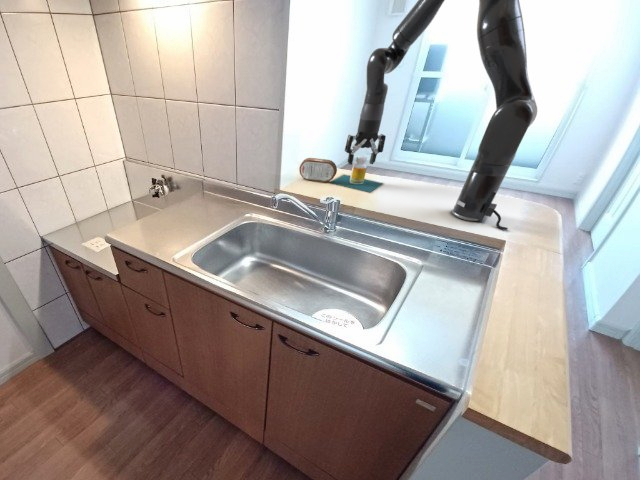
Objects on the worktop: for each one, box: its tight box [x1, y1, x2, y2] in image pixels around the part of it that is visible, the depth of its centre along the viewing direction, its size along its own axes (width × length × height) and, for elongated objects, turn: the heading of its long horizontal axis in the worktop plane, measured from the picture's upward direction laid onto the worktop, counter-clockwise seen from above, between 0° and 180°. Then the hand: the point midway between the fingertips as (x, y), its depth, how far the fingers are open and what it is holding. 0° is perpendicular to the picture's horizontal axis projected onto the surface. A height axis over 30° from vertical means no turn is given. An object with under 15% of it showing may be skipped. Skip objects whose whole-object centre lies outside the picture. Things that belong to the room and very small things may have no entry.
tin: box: [298, 157, 338, 183], centre depth 132 cm, size 15×3×8 cm, turn 66°
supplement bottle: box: [350, 155, 368, 185], centre depth 129 cm, size 5×5×10 cm
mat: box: [329, 174, 384, 193], centre depth 132 cm, size 17×13×1 cm
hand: (360, 164), depth 127 cm, fingers open, 8 cm apart
